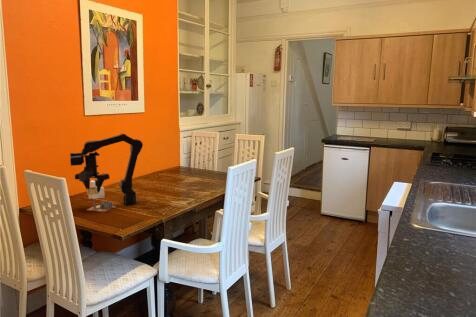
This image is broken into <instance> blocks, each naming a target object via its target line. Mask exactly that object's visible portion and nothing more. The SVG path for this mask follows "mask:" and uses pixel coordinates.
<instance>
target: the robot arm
mask: <svg viewBox="0 0 476 317" xmlns="http://www.w3.org/2000/svg"><path fill="white" fill-rule="evenodd" d="M121 142H124V143H126V144H128V145H130V147H129V150H130V152H129V153H130V154H129V159H128V162H127V166H126V171H125V175H124V178H123V179H120V182H119V185H118V186H119V190H120V191H121V193H122V194H123V197H122V198H123V204H124V205H126V206H134V205H136V204H137V192H136V191H135V190H134V189H133V176H134V172H135V168H136V164H137V161H138V156H139V154H140V153H141V152H142V148H143V146H144V144H143V142H142V140H140V139H138V138H132V137H130V136H128V135H127V134H125V133H120V134H118V135H113V136H110V137H107V138H103V139H99V140H98V139H97V140H89V141H88V140H87V141H85V142H84V144H83V148H82V150H81V151H80V152H75V153H74V152H70V154H69V156H70V157H69V160H70V166H71V167H72V166H82V165H83V164H85V166H84V167H83V170H82V171H80V172H79V173H75V175H74V180H78V181H80V182H82V184H83V185H84V187H85V190H86V191H87V188H90V187H91V185H90V181H91V179H95V180H96V181H95V182H96V183H97V191H98V192H99V191H100V189H101V187H103V184H104V182H105V181H107V180H109V179H110V174H109V173H100V172H99V171H98V168H99V165H98V164H97V163H98V162H97V157H99V156H100V153H98V151H99V150H100V149H101V148H103V147H106V146H110V145H114V144H117V143H121Z"/></svg>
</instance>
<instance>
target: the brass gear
mask: <svg viewBox="0 0 476 317" xmlns="http://www.w3.org/2000/svg"><path fill="white" fill-rule="evenodd" d="M98 193H100V191H99V192H98V191H97V187H91V186H90V188H87V190H86V194H87V196H88V195H94V194H98Z"/></svg>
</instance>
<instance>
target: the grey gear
mask: <svg viewBox="0 0 476 317" xmlns="http://www.w3.org/2000/svg"><path fill="white" fill-rule="evenodd" d="M106 201H107V203H105V201H101V202H100V203H99V205H100V208H101V209H109V210H111V209H112V208H111V207H113V206H114V204H113V201H111V200H110V201H109V200H106ZM110 208H111V209H110ZM113 208H114V207H113Z"/></svg>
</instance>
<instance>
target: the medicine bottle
mask: <svg viewBox="0 0 476 317" xmlns="http://www.w3.org/2000/svg"><path fill="white" fill-rule="evenodd" d="M96 180H97V179H92V180H90V187H97V183H96V182H95V181H96ZM105 194H106V193H105V187H103V186H101V189H100V193H98V194H94V195H88V194H87V196H88V199H89V200H90V199H93V200H97V199H105V198H106V196H105Z"/></svg>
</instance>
